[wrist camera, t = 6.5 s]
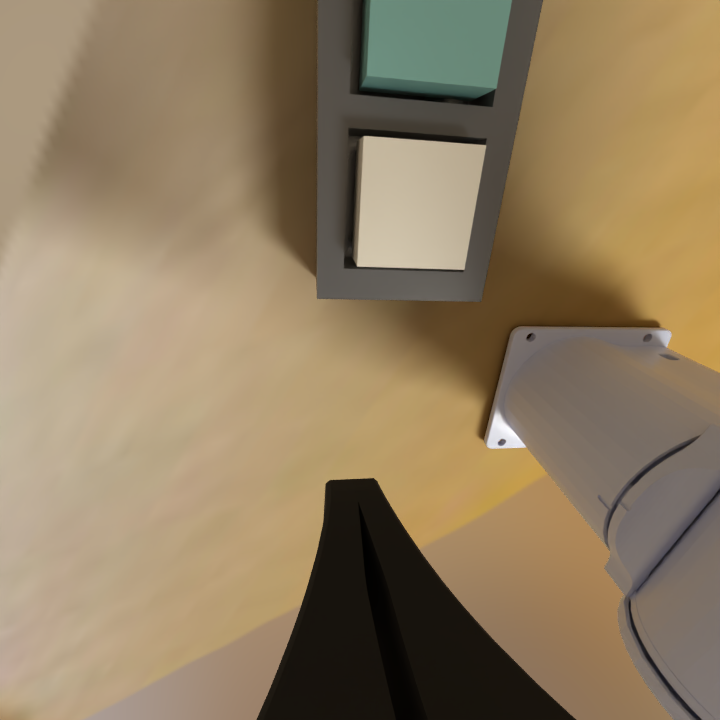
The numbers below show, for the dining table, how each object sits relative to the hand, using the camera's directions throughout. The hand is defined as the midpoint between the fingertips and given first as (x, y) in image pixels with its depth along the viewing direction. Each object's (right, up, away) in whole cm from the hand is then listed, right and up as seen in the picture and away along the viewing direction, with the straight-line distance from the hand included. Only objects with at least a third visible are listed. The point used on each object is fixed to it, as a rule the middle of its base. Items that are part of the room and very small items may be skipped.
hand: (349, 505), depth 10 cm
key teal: (+2, +15, +2) cm, 15 cm away
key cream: (+2, +10, +4) cm, 11 cm away
